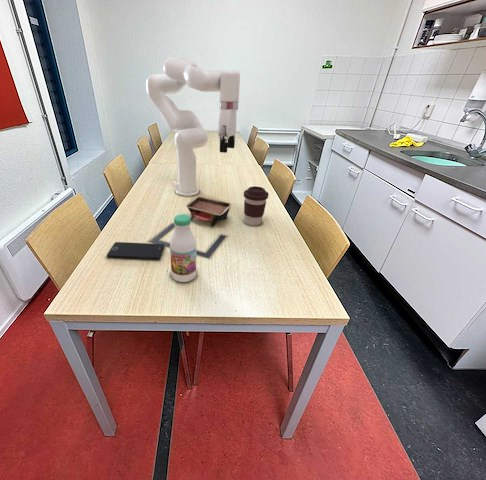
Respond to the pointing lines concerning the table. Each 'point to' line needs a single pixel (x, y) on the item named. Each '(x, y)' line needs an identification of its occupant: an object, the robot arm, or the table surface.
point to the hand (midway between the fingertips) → (227, 150)
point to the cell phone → (136, 250)
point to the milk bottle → (183, 250)
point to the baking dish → (208, 210)
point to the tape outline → (207, 254)
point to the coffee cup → (254, 205)
